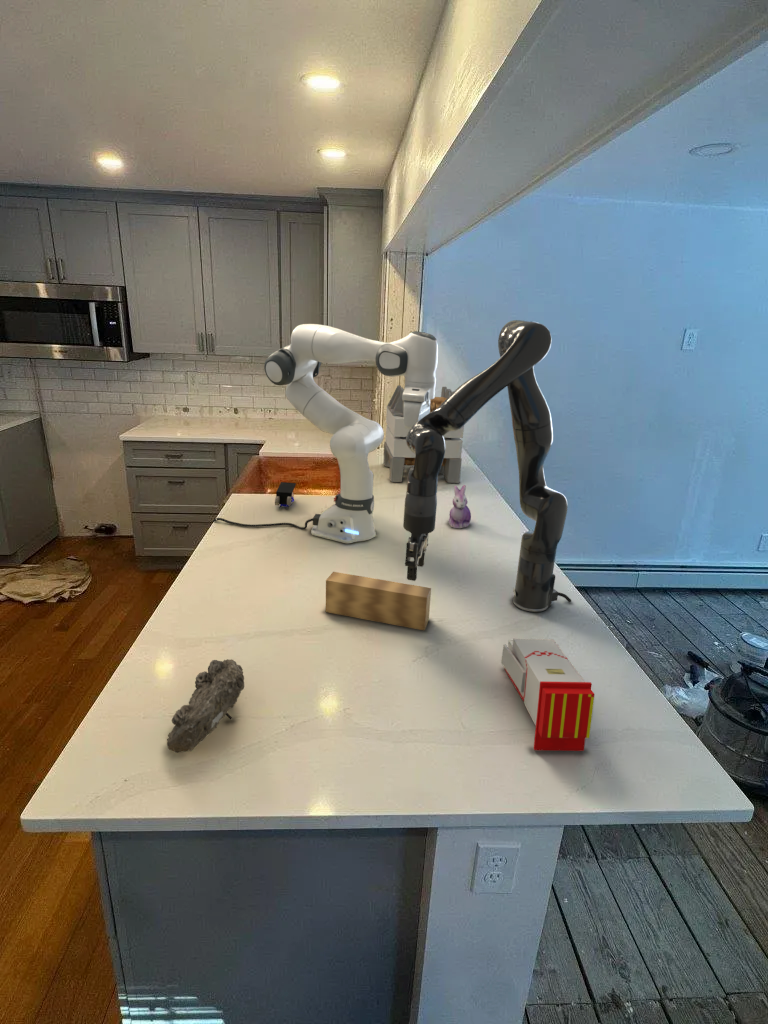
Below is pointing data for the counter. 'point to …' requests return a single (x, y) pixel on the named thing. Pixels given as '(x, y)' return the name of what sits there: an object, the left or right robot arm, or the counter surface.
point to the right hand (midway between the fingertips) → (415, 572)
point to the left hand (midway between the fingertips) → (416, 438)
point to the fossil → (206, 705)
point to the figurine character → (285, 494)
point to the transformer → (397, 446)
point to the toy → (550, 693)
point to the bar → (378, 600)
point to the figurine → (459, 509)
